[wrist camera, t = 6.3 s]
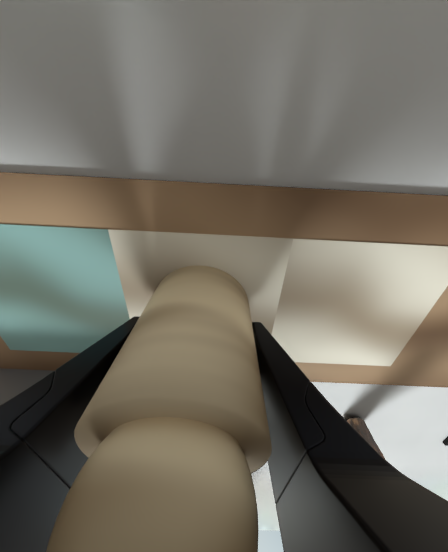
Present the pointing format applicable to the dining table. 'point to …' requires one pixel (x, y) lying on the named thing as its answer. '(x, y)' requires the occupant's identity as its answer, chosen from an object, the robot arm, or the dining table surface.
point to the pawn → (173, 430)
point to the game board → (229, 269)
